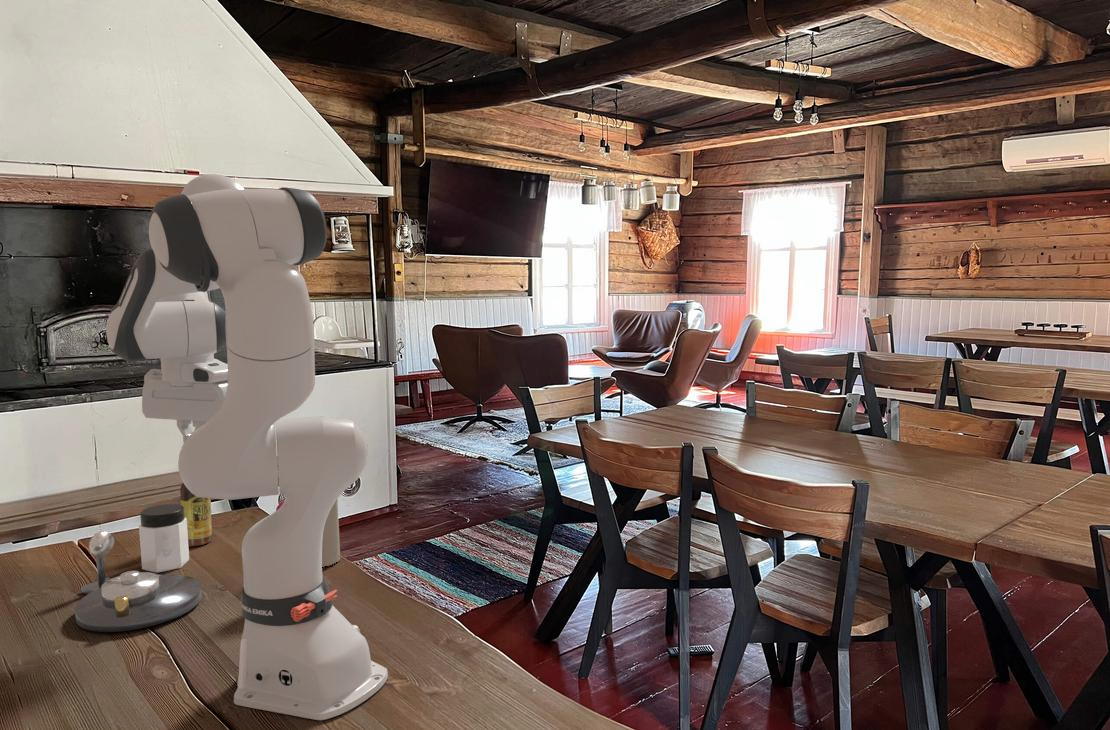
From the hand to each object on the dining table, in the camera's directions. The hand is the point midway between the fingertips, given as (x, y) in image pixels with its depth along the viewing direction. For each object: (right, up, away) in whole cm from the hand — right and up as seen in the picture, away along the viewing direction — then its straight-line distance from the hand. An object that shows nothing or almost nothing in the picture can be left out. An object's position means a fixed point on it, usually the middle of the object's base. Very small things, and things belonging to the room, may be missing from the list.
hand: (193, 443), depth 141 cm
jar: (-14, -28, +18) cm, 36 cm away
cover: (-9, -27, -5) cm, 29 cm away
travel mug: (+18, -27, +19) cm, 38 cm away
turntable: (-8, -30, -3) cm, 31 cm away
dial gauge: (-19, -29, +5) cm, 35 cm away
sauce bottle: (-14, -26, +31) cm, 43 cm away
